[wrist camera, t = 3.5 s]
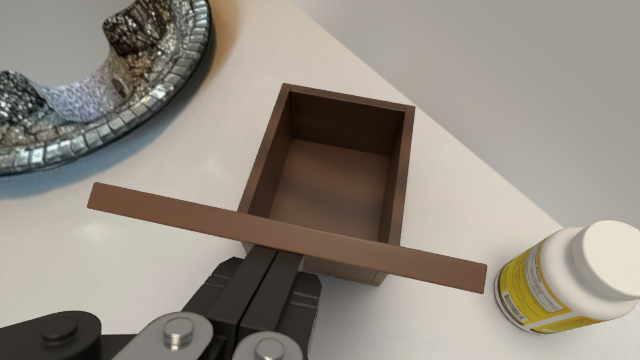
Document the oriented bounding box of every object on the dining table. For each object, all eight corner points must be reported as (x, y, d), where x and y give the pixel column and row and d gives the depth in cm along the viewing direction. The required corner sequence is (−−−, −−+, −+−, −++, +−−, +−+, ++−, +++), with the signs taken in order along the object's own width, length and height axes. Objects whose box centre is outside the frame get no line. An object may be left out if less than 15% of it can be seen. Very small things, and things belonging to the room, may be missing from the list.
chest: (287, 135, 39) (282, 82, 32) (396, 156, 38) (415, 106, 31) (248, 257, 32) (232, 224, 26) (379, 286, 31) (398, 259, 25)
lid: (93, 181, 11) (85, 207, 11) (488, 264, 10) (483, 294, 10) (232, 215, 25) (229, 227, 25) (400, 251, 24) (398, 263, 24)
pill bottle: (573, 283, 32) (687, 239, 22) (557, 350, 29) (678, 333, 20) (504, 248, 33) (582, 192, 24) (482, 309, 31) (560, 273, 21)
